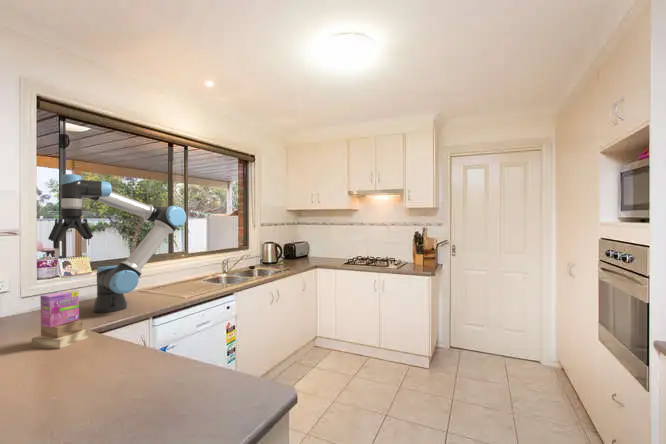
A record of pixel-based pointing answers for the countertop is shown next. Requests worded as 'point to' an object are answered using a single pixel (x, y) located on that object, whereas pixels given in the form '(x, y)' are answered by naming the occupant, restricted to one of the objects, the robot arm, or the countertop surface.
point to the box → (59, 308)
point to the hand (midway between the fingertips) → (72, 254)
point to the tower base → (59, 340)
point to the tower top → (62, 329)
